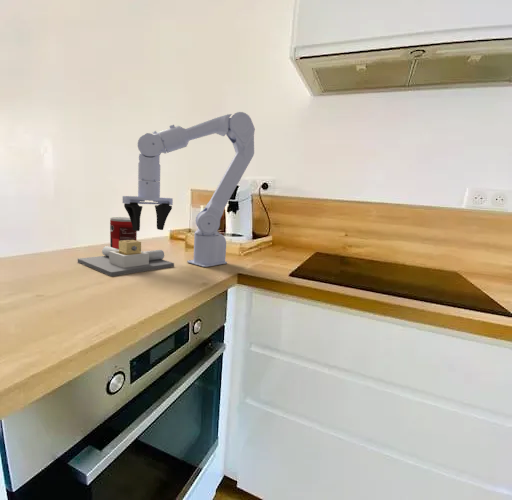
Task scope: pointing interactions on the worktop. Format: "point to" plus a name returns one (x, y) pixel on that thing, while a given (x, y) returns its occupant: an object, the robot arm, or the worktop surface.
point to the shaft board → (126, 262)
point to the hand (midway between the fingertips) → (148, 230)
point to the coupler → (129, 247)
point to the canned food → (121, 231)
